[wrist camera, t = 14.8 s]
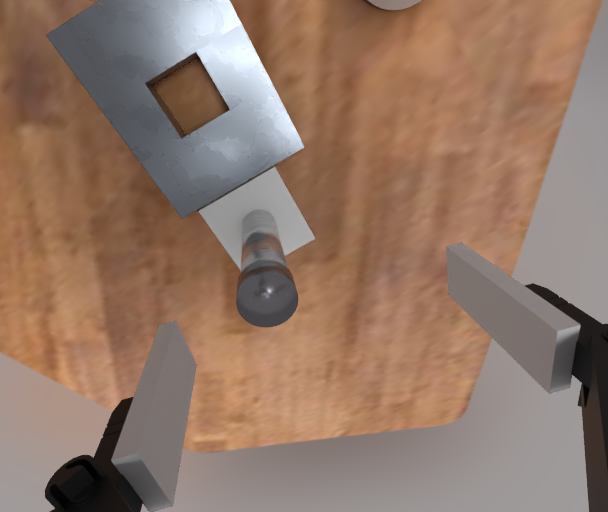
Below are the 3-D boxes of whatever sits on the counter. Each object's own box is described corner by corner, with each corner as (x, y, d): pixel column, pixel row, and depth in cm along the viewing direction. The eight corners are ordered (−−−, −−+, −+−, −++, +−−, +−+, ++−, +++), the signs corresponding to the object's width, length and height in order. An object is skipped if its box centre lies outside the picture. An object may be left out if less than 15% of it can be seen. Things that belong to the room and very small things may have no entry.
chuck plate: (62, 40, 26) (45, 35, 24) (201, -49, 25) (197, -63, 23) (186, 210, 32) (181, 218, 30) (300, 143, 31) (304, 147, 29)
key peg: (241, 244, 34) (238, 329, 21) (239, 207, 32) (234, 275, 20) (278, 242, 34) (297, 325, 22) (278, 206, 33) (298, 272, 20)
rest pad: (198, 209, 32) (198, 211, 32) (274, 166, 32) (274, 166, 31) (245, 275, 36) (245, 277, 35) (314, 237, 35) (315, 238, 35)
